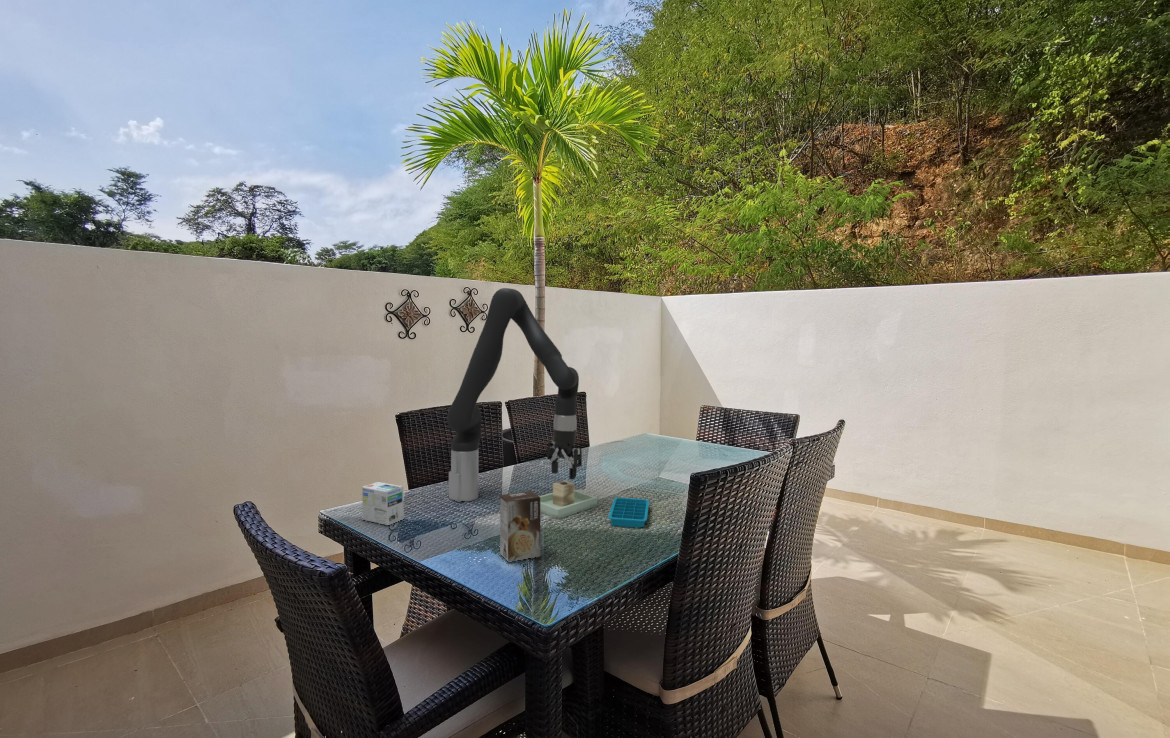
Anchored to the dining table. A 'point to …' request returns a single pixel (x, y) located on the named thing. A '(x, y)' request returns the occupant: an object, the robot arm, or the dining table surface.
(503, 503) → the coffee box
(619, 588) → the dining table surface
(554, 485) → the birch block
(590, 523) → the dining table surface
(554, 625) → the dining table surface
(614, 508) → the ice cube tray
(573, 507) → the tray
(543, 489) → the dining table surface
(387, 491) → the light bulb box
